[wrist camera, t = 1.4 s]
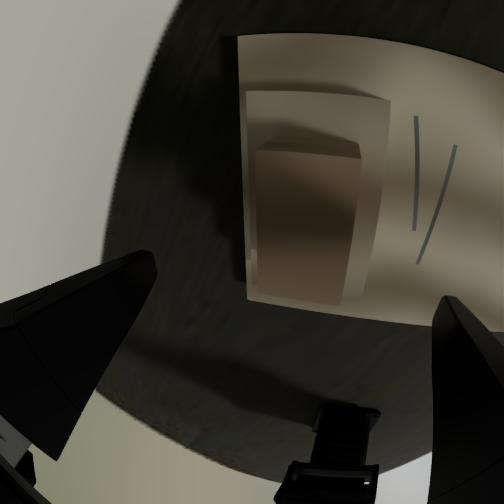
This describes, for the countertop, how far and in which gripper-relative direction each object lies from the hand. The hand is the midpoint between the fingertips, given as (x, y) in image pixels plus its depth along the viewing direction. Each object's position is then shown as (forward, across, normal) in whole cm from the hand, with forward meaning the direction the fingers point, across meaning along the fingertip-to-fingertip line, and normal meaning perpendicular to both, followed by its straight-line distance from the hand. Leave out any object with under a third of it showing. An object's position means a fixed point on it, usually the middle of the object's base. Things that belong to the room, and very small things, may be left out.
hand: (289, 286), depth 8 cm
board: (+9, -8, 0) cm, 12 cm away
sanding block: (+8, 0, 0) cm, 8 cm away
